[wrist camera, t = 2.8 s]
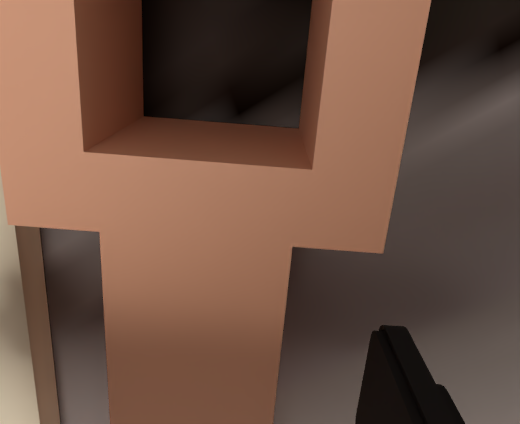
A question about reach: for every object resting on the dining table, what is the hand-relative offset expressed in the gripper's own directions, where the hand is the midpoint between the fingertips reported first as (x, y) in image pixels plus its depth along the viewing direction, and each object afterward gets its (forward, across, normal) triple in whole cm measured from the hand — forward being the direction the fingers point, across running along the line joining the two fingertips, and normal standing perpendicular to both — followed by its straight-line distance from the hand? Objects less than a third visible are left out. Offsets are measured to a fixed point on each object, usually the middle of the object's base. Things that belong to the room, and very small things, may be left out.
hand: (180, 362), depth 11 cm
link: (+3, 0, -1) cm, 3 cm away
